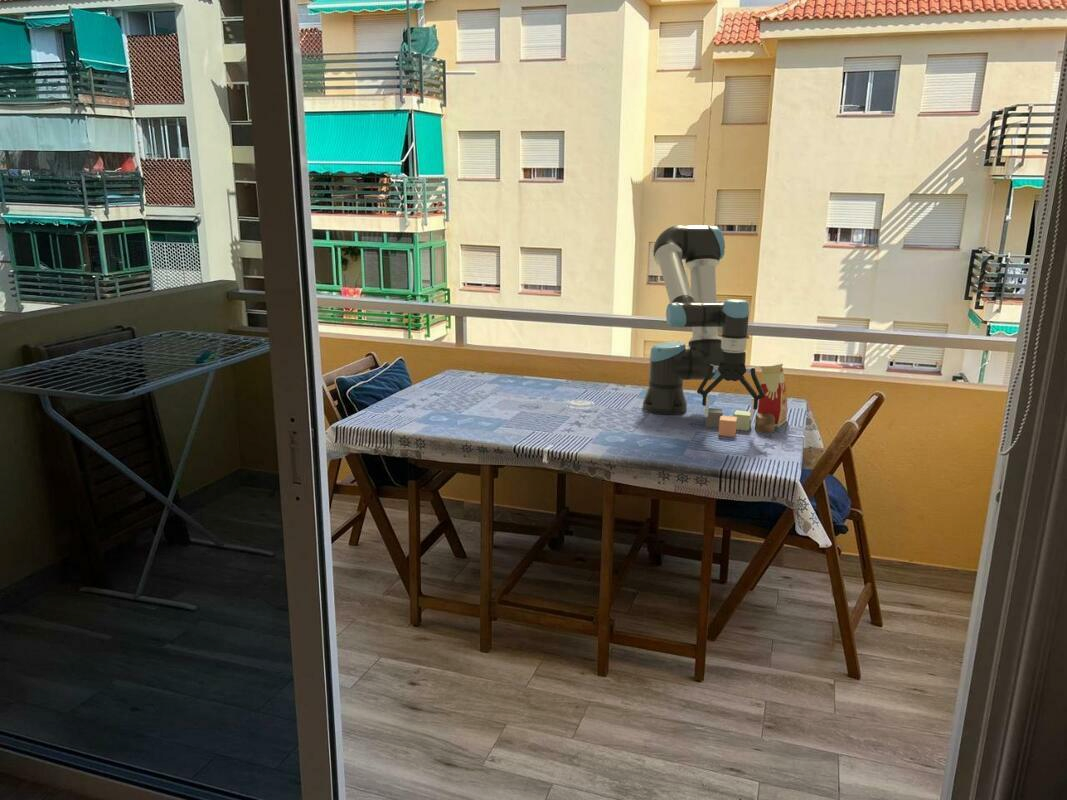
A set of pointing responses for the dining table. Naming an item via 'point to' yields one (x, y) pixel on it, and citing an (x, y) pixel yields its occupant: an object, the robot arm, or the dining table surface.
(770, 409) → the milk carton
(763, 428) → the walnut block
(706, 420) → the grey beige cube
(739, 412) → the sage block
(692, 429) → the dining table surface
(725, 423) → the terracotta block
